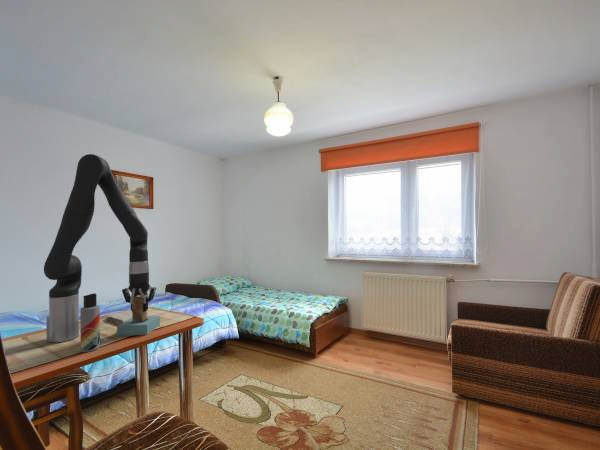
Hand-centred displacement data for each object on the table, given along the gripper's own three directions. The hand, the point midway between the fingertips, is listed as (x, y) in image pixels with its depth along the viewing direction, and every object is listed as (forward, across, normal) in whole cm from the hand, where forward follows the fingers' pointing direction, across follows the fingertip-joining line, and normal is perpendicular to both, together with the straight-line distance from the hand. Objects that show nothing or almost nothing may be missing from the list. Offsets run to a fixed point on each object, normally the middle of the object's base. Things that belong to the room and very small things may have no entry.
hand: (139, 311), depth 124 cm
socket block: (+8, 0, 0) cm, 8 cm away
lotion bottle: (+8, -8, -19) cm, 22 cm away
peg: (+4, 0, 0) cm, 4 cm away
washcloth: (+9, -15, +17) cm, 25 cm away
